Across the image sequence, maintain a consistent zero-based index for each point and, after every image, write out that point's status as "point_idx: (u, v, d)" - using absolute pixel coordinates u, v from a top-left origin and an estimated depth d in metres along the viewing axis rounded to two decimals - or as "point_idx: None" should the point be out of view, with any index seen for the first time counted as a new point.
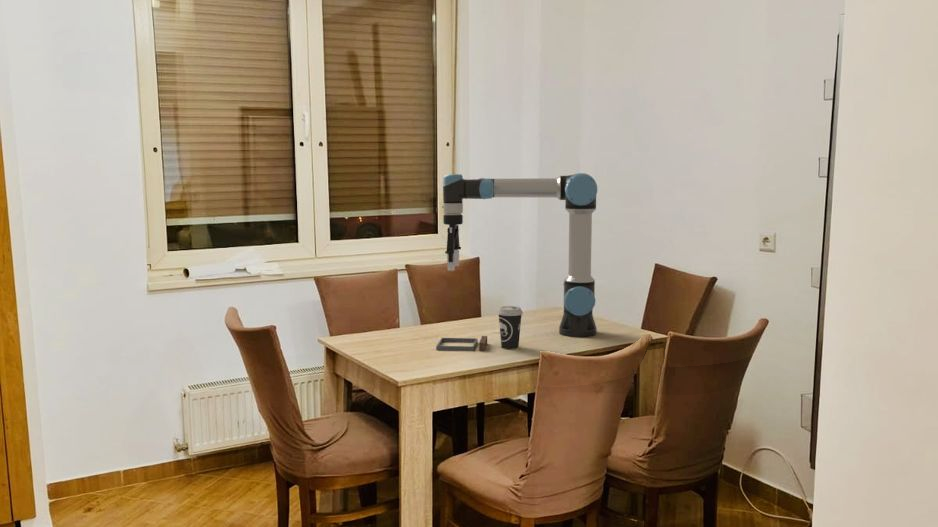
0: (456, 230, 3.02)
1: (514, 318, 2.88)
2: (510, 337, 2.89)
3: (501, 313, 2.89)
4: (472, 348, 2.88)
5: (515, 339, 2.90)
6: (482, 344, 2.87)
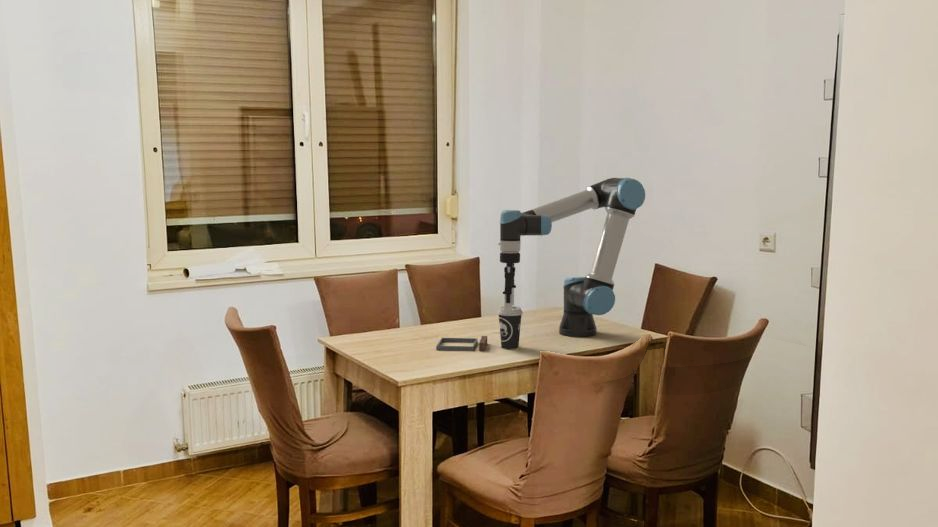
0: (513, 269, 2.87)
1: (514, 318, 2.88)
2: (510, 337, 2.89)
3: (501, 313, 2.89)
4: (472, 348, 2.88)
5: (515, 339, 2.90)
6: (482, 344, 2.87)
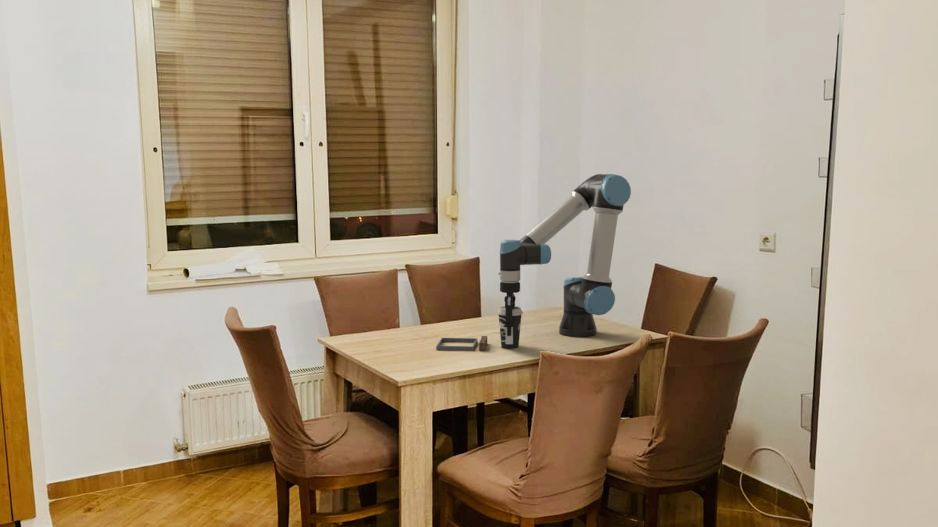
0: (513, 299, 2.89)
1: (514, 318, 2.88)
2: None
3: (501, 313, 2.89)
4: (472, 348, 2.88)
5: (515, 339, 2.90)
6: (482, 344, 2.87)
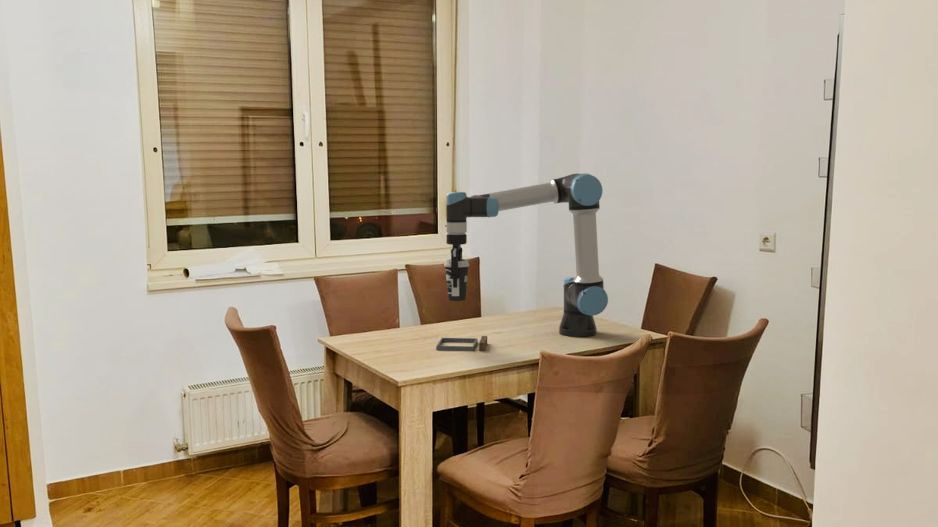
0: (460, 251, 2.89)
1: (460, 270, 2.88)
2: None
3: (447, 264, 2.89)
4: (472, 348, 2.88)
5: (462, 291, 2.90)
6: (482, 344, 2.87)
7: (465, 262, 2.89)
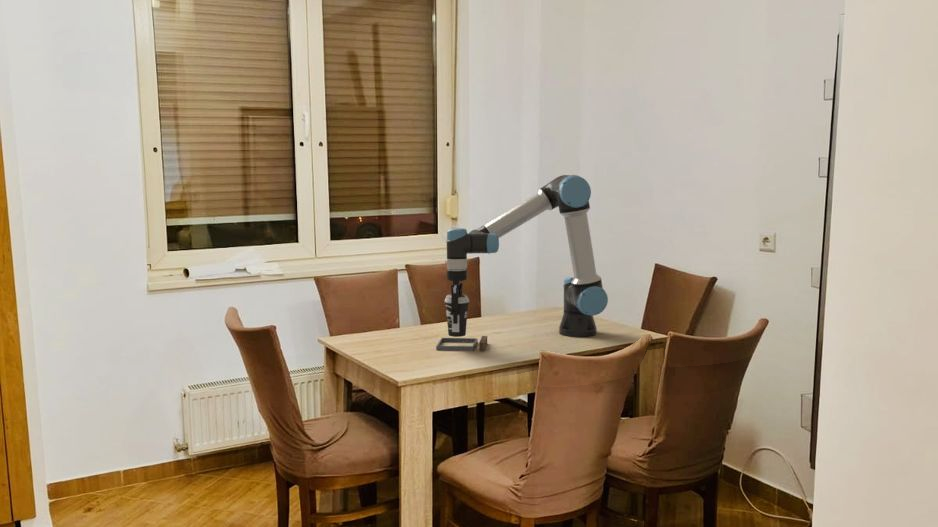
0: (460, 287, 2.90)
1: (460, 306, 2.90)
2: None
3: (447, 300, 2.91)
4: (472, 348, 2.88)
5: (462, 326, 2.92)
6: (482, 344, 2.87)
7: (465, 298, 2.91)
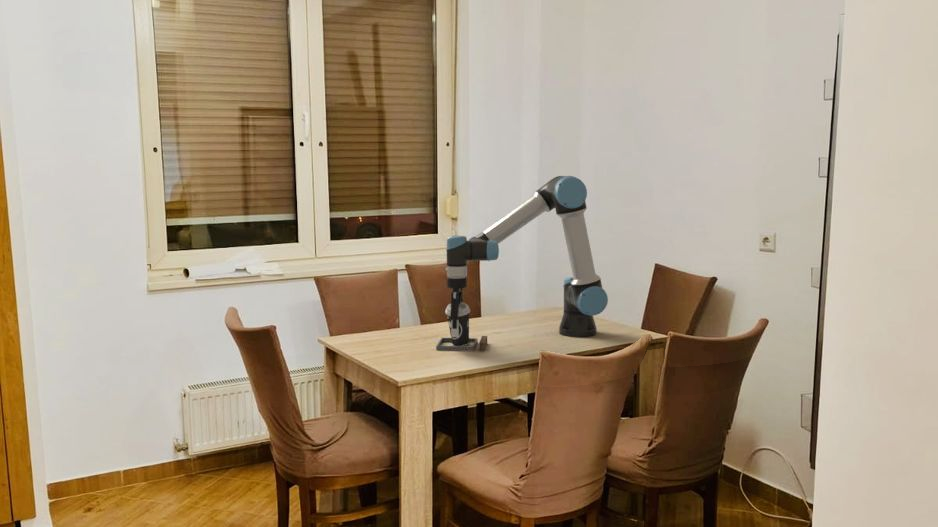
0: (460, 294, 2.91)
1: (463, 318, 2.91)
2: (461, 335, 2.94)
3: (449, 313, 2.91)
4: (472, 348, 2.88)
5: (465, 335, 2.95)
6: (482, 344, 2.87)
7: (466, 309, 2.92)
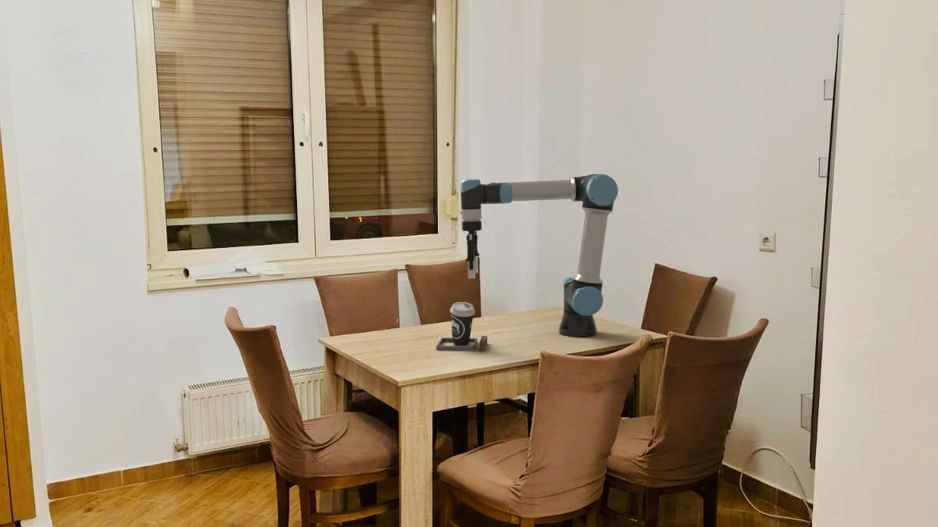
0: (475, 236, 2.94)
1: (467, 318, 2.91)
2: (462, 335, 2.94)
3: (454, 312, 2.91)
4: (472, 348, 2.88)
5: (467, 336, 2.95)
6: (482, 344, 2.87)
7: (472, 310, 2.92)
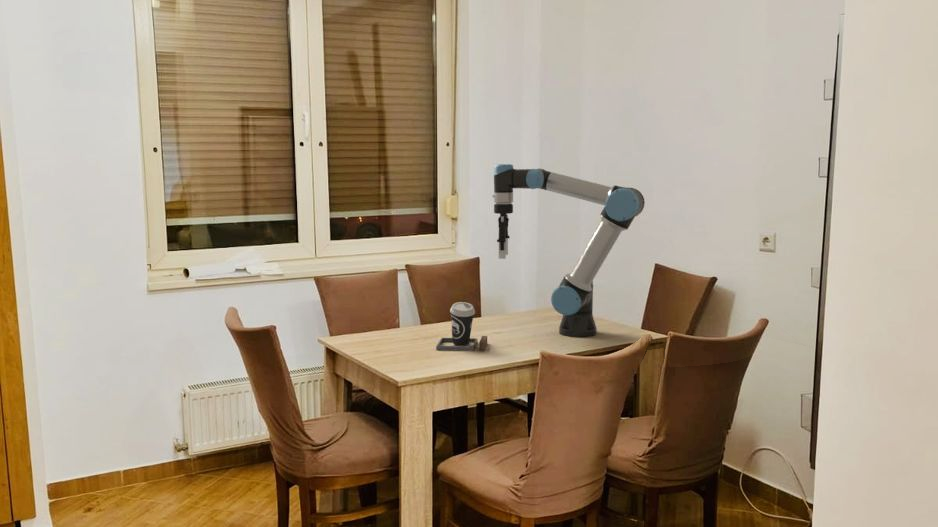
0: (507, 219, 3.07)
1: (467, 318, 2.91)
2: (462, 335, 2.94)
3: (454, 312, 2.91)
4: (472, 348, 2.88)
5: (467, 336, 2.95)
6: (482, 344, 2.87)
7: (472, 310, 2.92)
